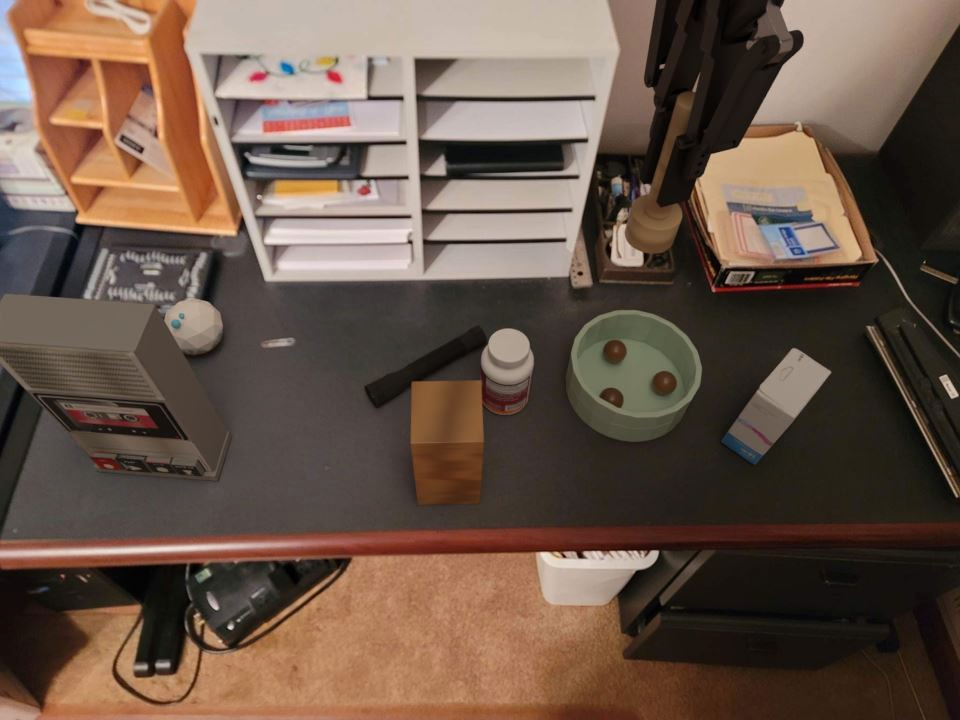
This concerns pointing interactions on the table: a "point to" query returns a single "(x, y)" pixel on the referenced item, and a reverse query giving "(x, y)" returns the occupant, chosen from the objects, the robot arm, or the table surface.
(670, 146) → the pestle
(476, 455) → the block
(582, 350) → the bowl
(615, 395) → the hazelnut
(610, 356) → the hazelnut
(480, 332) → the flashlight
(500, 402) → the pill bottle
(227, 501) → the table surface
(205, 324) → the ornament
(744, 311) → the table surface
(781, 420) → the ink box
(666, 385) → the hazelnut
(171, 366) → the cassette tape recorder
